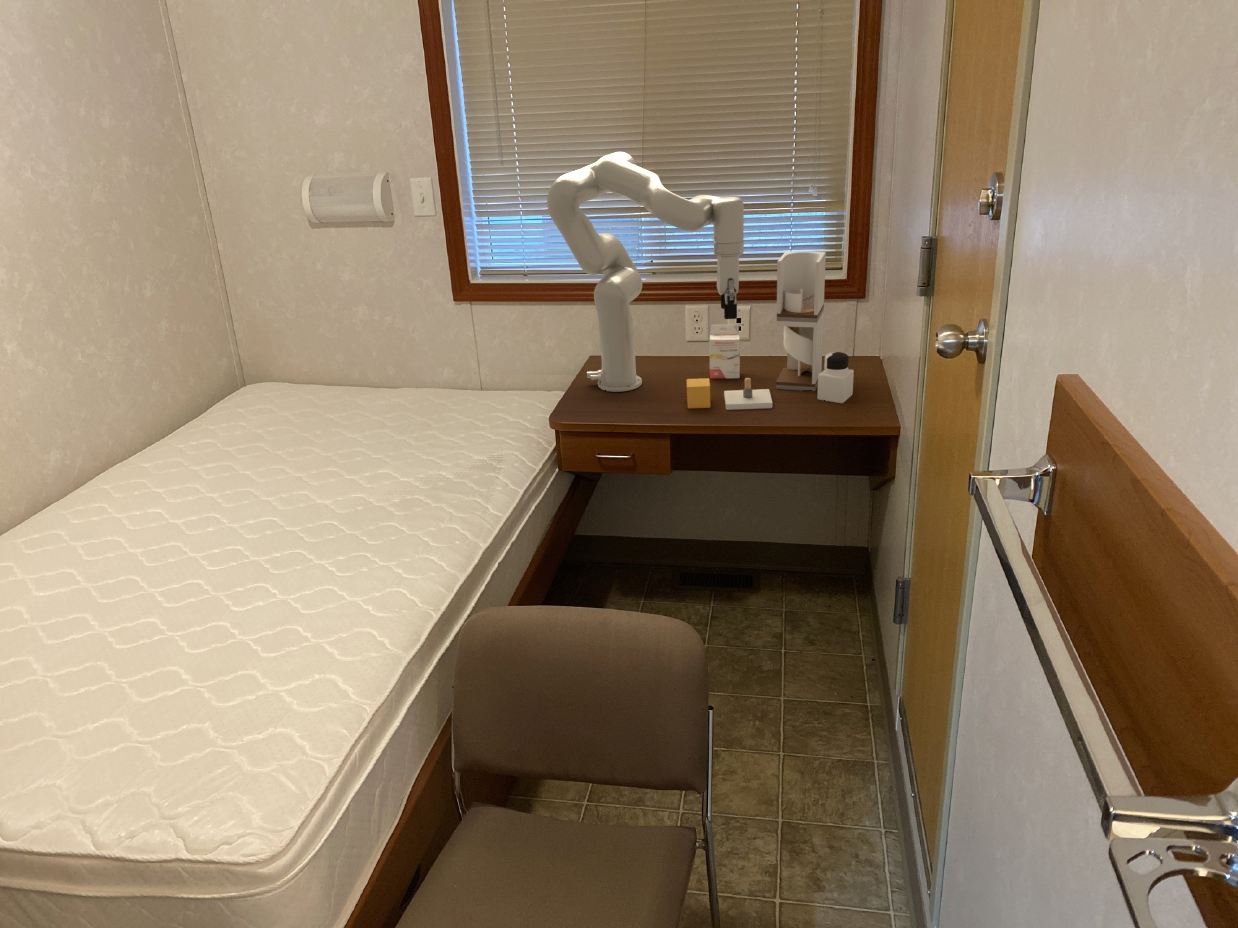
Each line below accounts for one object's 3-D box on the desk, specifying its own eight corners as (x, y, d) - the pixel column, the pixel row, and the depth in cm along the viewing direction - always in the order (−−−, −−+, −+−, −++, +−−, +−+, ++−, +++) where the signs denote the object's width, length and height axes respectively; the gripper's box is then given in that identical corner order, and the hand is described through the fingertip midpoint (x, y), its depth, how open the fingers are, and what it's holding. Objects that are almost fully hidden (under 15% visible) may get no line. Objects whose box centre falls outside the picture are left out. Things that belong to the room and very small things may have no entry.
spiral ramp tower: (783, 374, 259) (785, 251, 244) (821, 377, 256) (825, 252, 241) (775, 388, 249) (777, 261, 235) (814, 391, 246) (819, 262, 231)
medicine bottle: (852, 395, 242) (855, 351, 237) (842, 404, 237) (844, 360, 232) (827, 391, 246) (829, 348, 241) (816, 399, 240) (818, 356, 235)
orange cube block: (687, 408, 240) (686, 387, 238) (687, 400, 246) (686, 379, 243) (710, 407, 240) (710, 386, 237) (709, 399, 245) (709, 378, 243)
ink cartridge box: (709, 379, 260) (708, 329, 253) (709, 373, 264) (708, 324, 258) (740, 378, 259) (739, 328, 252) (739, 372, 263) (739, 323, 257)
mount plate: (726, 409, 238) (725, 386, 235) (724, 396, 247) (723, 373, 244) (772, 408, 237) (772, 384, 234) (768, 394, 246) (769, 371, 243)
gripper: (711, 241, 239) (711, 305, 246) (716, 256, 223) (717, 323, 231) (739, 240, 239) (739, 303, 246) (747, 254, 223) (746, 322, 230)
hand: (728, 313), depth 238 cm, fingers open, 9 cm apart
